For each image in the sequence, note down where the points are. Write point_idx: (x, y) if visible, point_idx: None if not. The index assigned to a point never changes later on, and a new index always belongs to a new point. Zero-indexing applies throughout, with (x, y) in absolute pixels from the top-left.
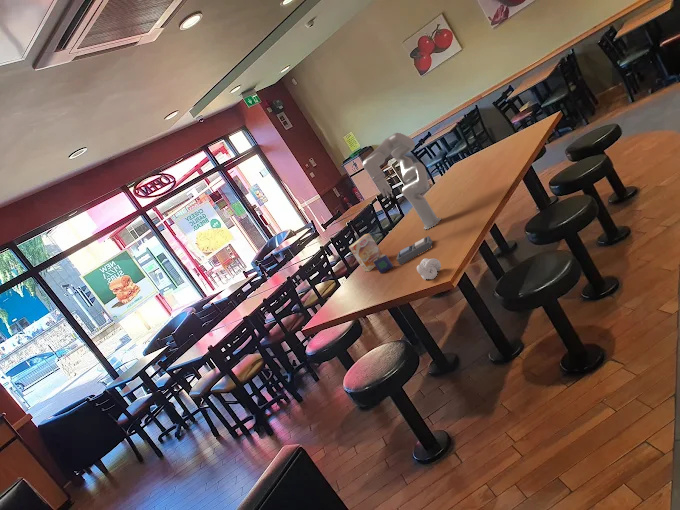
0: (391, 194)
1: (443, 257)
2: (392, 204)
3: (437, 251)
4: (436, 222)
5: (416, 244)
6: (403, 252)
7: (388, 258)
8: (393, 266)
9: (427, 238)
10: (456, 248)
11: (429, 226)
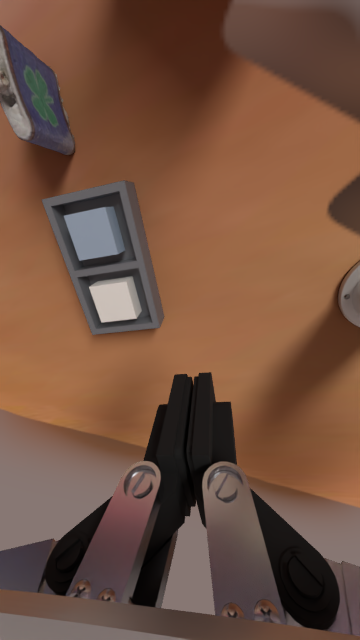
0: (135, 598)
1: (9, 365)
2: (173, 379)
3: (59, 345)
4: (351, 316)
5: (99, 293)
6: (70, 234)
7: (45, 145)
8: (69, 154)
9: (135, 325)
10: (36, 391)
11: (354, 285)
